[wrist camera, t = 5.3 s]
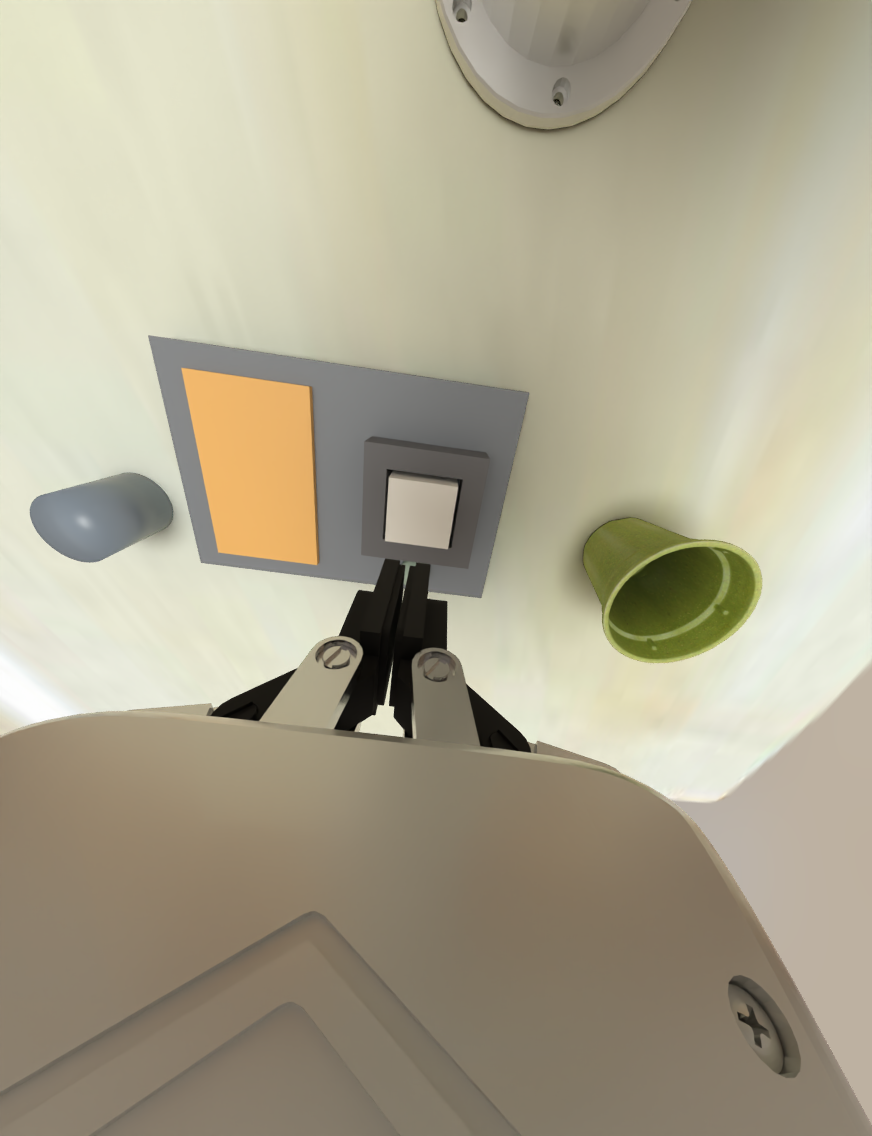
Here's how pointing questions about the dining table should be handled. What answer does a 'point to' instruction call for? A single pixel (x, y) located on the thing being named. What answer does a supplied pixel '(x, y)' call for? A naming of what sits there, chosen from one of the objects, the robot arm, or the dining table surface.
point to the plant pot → (668, 590)
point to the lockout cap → (101, 516)
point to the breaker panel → (331, 461)
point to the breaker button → (420, 509)
